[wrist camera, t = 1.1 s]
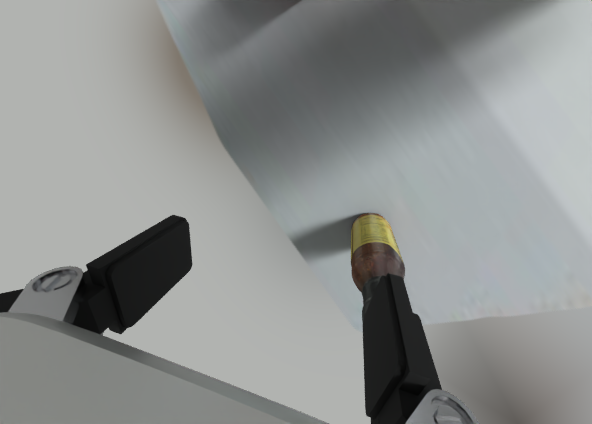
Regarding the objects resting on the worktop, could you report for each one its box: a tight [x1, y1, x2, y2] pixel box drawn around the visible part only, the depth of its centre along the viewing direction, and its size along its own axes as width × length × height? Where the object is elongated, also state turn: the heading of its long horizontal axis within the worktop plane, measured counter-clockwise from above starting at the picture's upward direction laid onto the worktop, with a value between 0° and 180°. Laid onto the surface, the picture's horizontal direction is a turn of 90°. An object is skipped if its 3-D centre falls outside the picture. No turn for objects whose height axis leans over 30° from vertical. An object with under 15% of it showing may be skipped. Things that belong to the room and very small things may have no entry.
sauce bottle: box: [351, 213, 405, 321], centre depth 29 cm, size 7×6×20 cm
